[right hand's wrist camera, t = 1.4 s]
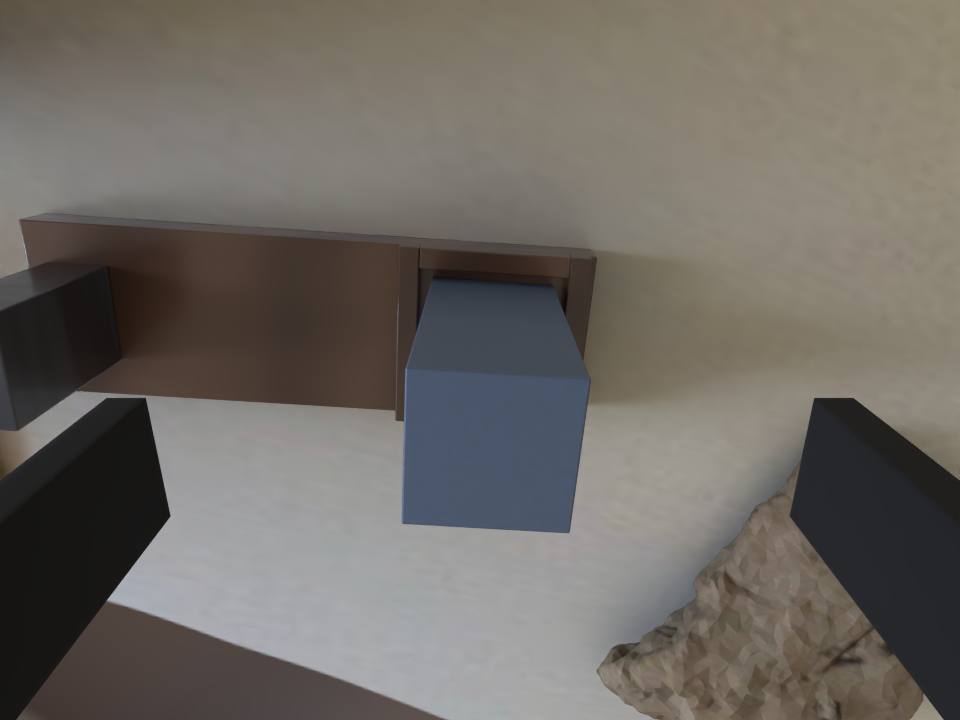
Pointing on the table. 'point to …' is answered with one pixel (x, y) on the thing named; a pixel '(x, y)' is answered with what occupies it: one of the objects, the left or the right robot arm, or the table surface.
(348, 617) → the table surface
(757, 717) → the stone
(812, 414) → the right robot arm
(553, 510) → the slate block
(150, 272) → the walnut caddy
